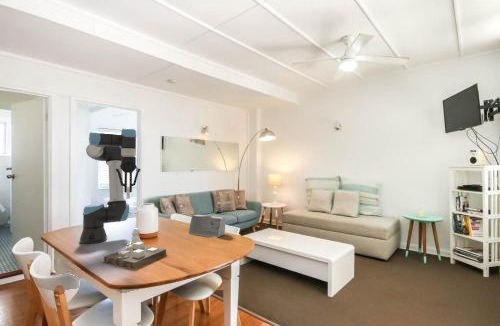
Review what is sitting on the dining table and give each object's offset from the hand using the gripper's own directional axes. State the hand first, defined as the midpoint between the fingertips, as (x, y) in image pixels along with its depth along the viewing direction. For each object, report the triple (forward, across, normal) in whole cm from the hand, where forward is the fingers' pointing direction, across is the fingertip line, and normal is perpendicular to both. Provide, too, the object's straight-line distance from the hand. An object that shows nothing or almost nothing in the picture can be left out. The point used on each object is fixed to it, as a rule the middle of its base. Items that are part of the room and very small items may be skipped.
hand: (128, 198), depth 154 cm
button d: (+30, +13, -11) cm, 35 cm away
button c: (+28, +6, -4) cm, 29 cm away
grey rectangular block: (+31, +53, +26) cm, 66 cm away
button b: (+28, +6, -18) cm, 34 cm away
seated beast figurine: (+31, +4, +8) cm, 32 cm away
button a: (+30, -1, -11) cm, 32 cm away
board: (+30, +5, -12) cm, 33 cm away
